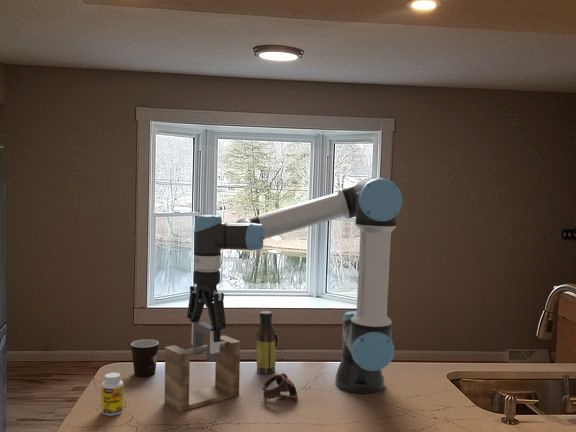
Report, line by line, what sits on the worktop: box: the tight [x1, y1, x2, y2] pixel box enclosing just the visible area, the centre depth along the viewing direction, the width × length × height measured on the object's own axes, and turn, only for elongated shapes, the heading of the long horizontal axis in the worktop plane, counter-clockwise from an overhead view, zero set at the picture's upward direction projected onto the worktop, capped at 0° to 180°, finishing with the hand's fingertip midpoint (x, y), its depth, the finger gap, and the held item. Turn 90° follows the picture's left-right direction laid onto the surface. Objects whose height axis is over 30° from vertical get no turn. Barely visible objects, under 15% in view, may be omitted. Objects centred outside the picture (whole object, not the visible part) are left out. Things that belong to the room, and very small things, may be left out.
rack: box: [164, 334, 241, 413], centre depth 161 cm, size 20×8×16 cm, turn 131°
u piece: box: [192, 320, 218, 362], centre depth 160 cm, size 9×3×9 cm, turn 42°
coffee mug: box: [130, 338, 160, 378], centre depth 179 cm, size 12×9×10 cm
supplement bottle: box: [100, 372, 124, 416], centre depth 151 cm, size 6×6×10 cm
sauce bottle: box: [256, 310, 276, 375], centre depth 185 cm, size 6×6×20 cm
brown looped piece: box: [262, 373, 299, 403], centre depth 164 cm, size 12×10×8 cm
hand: (205, 348), depth 160 cm, fingers closed on u piece, 9 cm apart
